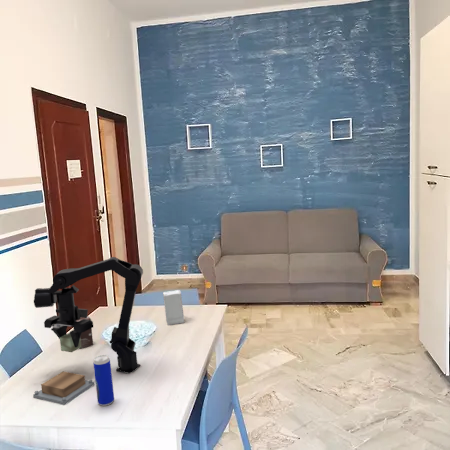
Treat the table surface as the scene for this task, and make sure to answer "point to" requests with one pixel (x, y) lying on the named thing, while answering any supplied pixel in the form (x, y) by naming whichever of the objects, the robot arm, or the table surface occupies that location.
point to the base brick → (63, 384)
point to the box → (86, 336)
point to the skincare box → (173, 307)
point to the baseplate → (63, 399)
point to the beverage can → (103, 380)
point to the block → (68, 343)
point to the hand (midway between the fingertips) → (71, 346)
